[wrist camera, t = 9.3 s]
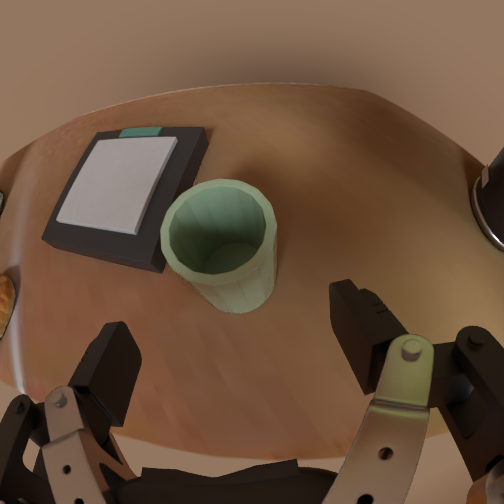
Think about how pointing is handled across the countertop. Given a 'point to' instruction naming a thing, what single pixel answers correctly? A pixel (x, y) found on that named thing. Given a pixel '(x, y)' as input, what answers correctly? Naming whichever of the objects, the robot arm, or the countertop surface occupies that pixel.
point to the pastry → (6, 301)
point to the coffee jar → (1, 200)
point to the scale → (126, 194)
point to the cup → (223, 243)
